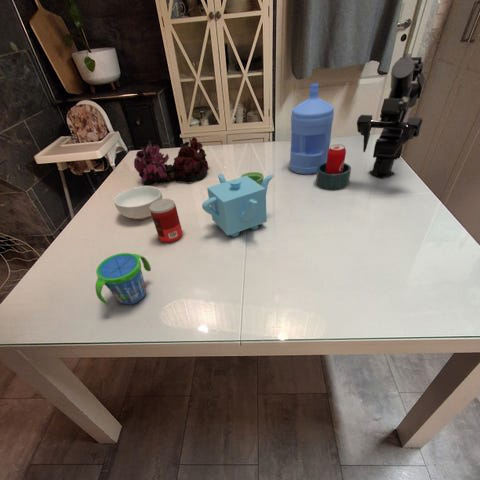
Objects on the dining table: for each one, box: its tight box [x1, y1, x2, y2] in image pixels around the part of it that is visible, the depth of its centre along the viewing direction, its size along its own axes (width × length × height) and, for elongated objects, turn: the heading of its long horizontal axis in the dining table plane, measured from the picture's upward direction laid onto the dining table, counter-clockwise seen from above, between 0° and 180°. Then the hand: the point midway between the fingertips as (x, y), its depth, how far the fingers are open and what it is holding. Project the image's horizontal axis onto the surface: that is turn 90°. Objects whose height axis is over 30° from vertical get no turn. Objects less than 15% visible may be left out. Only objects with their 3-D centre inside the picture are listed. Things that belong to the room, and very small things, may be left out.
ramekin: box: [240, 171, 265, 185], centre depth 115 cm, size 9×9×4 cm
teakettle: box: [201, 173, 275, 238], centre depth 93 cm, size 19×19×15 cm
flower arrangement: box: [133, 136, 209, 186], centre depth 125 cm, size 31×20×15 cm, turn 101°
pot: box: [315, 162, 352, 191], centre depth 112 cm, size 12×12×6 cm
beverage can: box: [325, 143, 347, 174], centre depth 109 cm, size 6×6×12 cm
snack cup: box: [95, 252, 152, 306], centre depth 76 cm, size 16×10×10 cm
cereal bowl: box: [113, 185, 163, 220], centre depth 108 cm, size 17×17×7 cm
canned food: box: [149, 198, 183, 244], centre depth 94 cm, size 8×8×11 cm
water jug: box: [289, 82, 335, 175], centre depth 115 cm, size 16×16×28 cm
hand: (378, 152), depth 95 cm, fingers open, 9 cm apart
